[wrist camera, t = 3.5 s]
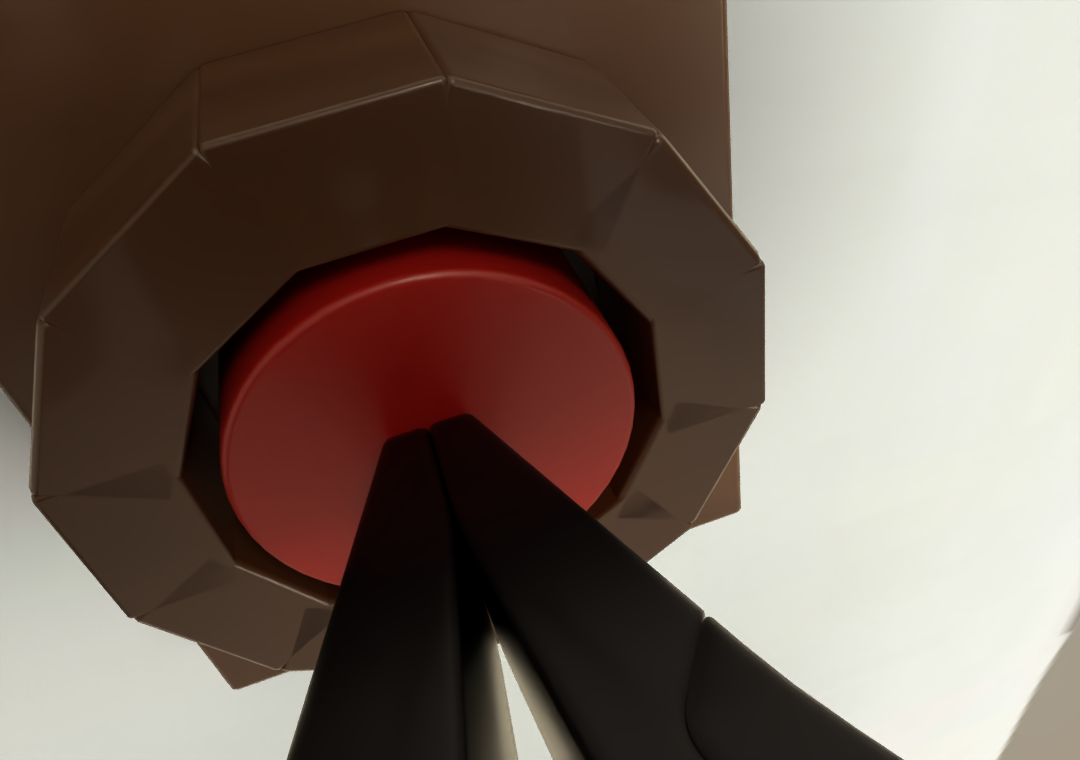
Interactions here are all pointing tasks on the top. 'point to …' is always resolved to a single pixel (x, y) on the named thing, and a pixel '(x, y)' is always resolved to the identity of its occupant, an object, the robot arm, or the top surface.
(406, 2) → the switch block
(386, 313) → the button
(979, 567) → the top surface
